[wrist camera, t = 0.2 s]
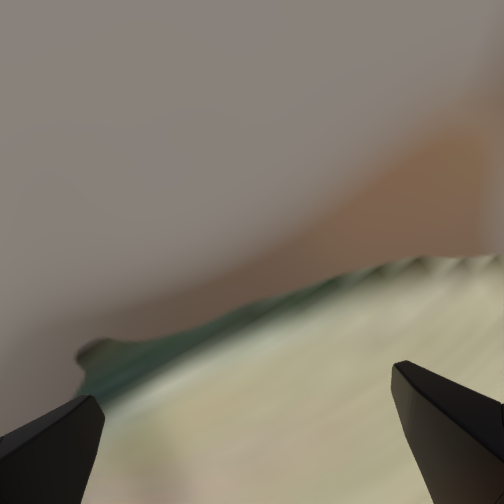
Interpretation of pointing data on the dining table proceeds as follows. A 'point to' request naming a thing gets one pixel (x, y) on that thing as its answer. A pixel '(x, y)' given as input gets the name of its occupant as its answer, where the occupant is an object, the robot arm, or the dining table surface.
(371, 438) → the dining table surface
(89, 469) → the robot arm
